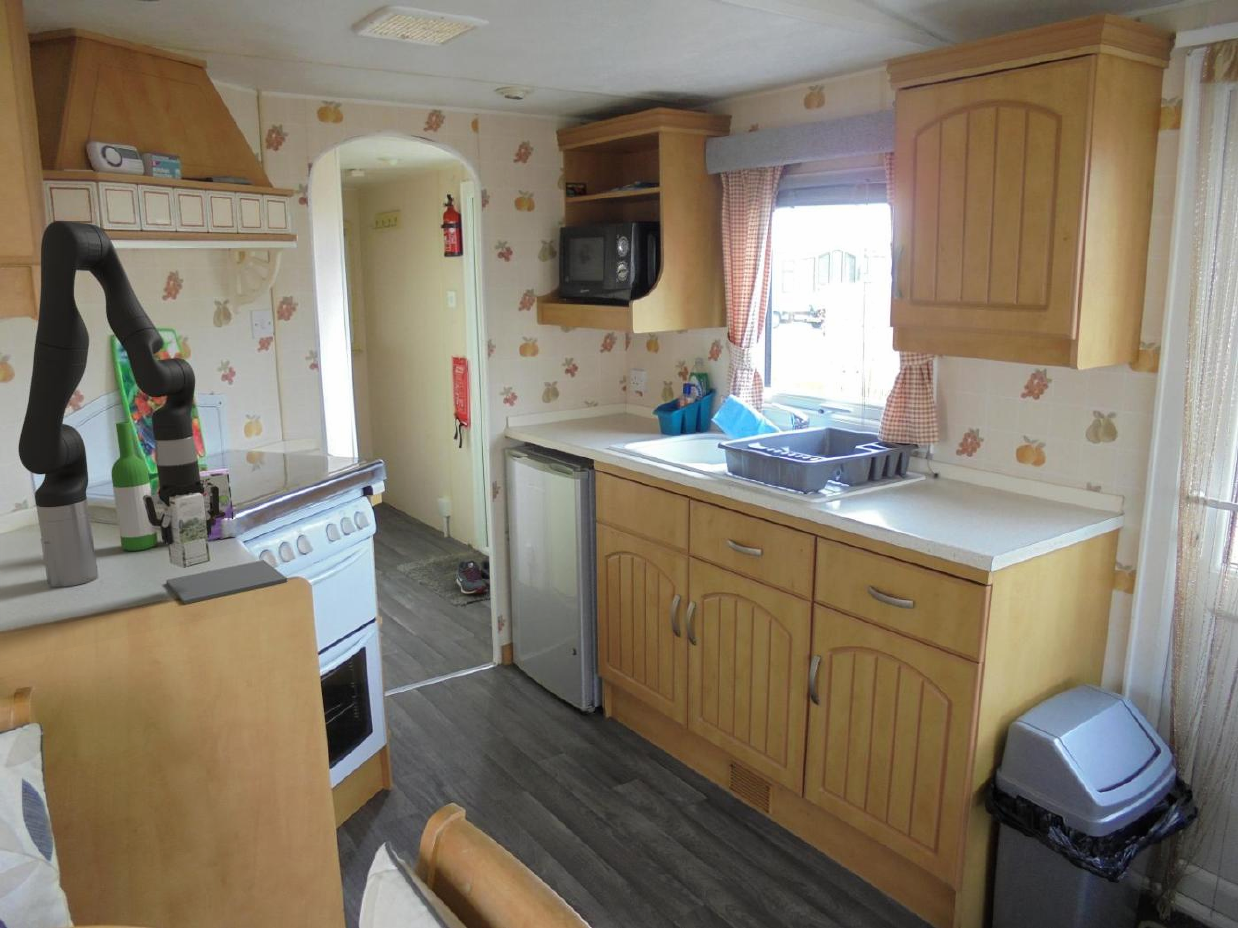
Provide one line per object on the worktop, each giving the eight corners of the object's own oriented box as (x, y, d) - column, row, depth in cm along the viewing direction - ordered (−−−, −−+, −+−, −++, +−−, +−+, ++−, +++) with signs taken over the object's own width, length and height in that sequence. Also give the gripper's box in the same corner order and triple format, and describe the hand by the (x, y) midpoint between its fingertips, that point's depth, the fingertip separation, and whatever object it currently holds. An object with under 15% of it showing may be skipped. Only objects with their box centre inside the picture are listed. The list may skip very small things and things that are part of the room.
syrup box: (197, 556, 195) (188, 488, 192) (211, 561, 192) (202, 492, 189) (169, 563, 191) (160, 494, 188) (184, 569, 187) (174, 498, 184)
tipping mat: (184, 604, 184) (184, 600, 184) (166, 583, 197) (166, 579, 197) (287, 581, 196) (286, 578, 196) (264, 563, 208) (263, 560, 208)
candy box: (174, 545, 224) (165, 478, 220) (174, 539, 229) (166, 473, 225) (236, 537, 229) (228, 471, 226) (235, 531, 234) (228, 467, 231)
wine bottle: (116, 548, 223) (98, 423, 216) (149, 540, 229) (133, 418, 222) (130, 554, 218) (112, 426, 211) (164, 546, 224) (147, 421, 217)
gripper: (141, 468, 180) (153, 552, 183) (219, 457, 188) (229, 537, 192) (133, 462, 186) (145, 543, 189) (210, 452, 194) (220, 529, 197)
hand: (187, 540), depth 190 cm, fingers closed on syrup box, 6 cm apart
